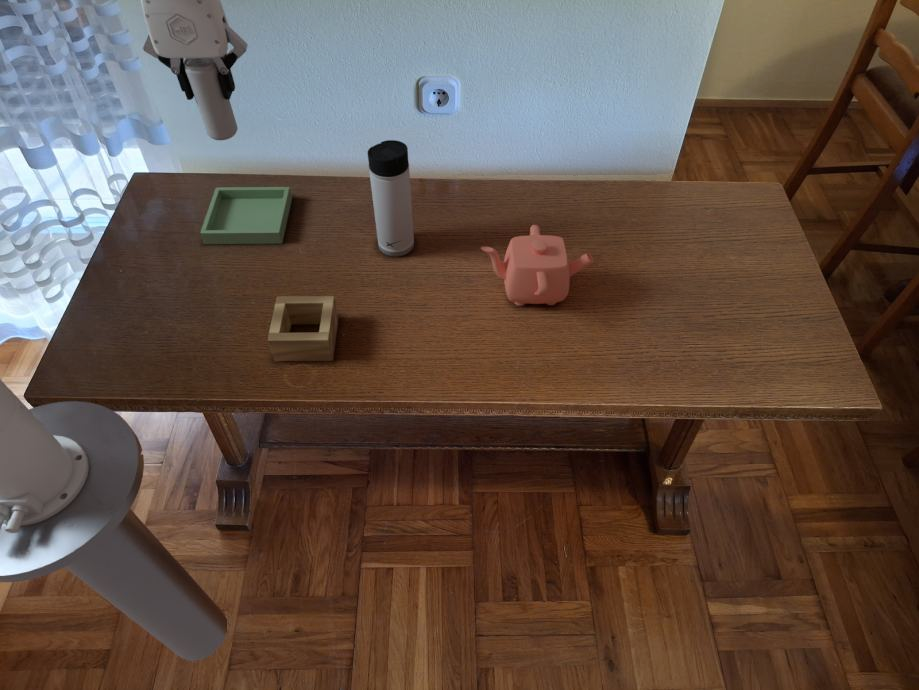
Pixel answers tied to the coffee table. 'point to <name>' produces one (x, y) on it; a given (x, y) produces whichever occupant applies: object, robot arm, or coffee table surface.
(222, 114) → the beverage can
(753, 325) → the coffee table surface
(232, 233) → the tray
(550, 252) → the teapot
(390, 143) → the travel mug
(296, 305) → the holder
